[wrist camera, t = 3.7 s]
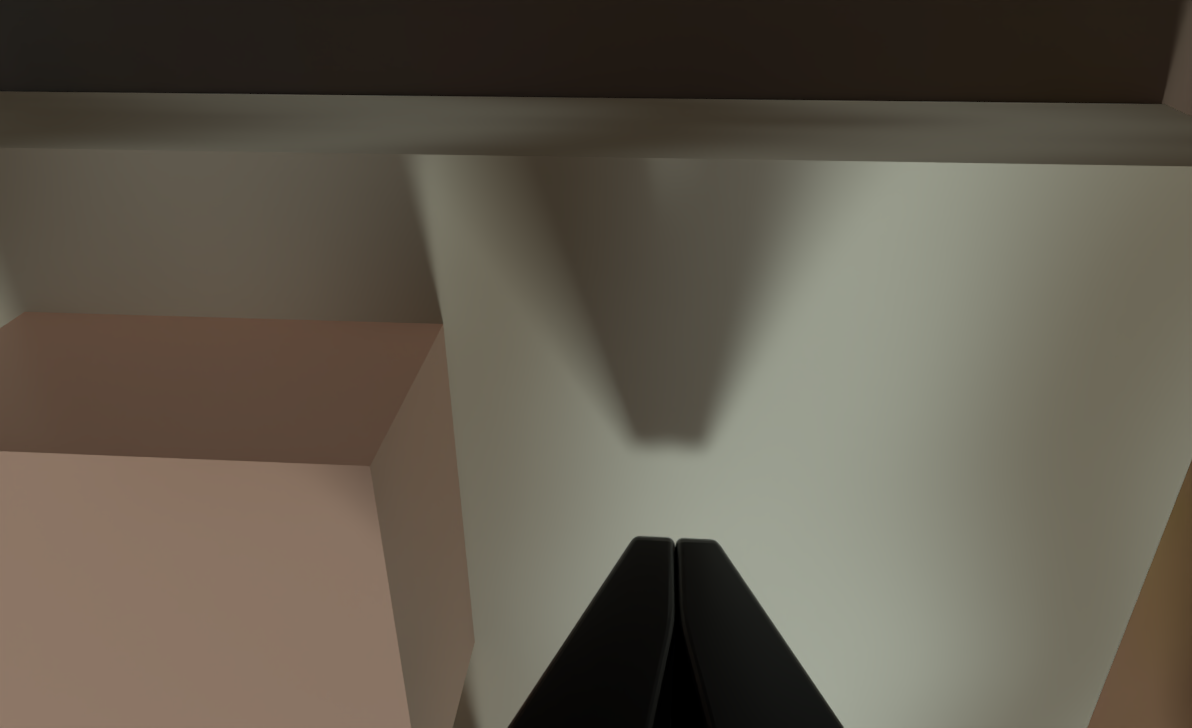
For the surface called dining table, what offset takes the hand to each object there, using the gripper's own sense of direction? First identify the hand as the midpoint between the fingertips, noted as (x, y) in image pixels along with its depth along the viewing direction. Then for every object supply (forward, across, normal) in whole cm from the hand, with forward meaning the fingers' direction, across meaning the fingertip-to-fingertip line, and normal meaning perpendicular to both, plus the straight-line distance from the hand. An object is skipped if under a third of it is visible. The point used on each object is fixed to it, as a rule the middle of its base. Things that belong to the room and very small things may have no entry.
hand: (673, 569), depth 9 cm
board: (+4, +2, +4) cm, 5 cm away
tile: (+1, +5, 0) cm, 5 cm away
